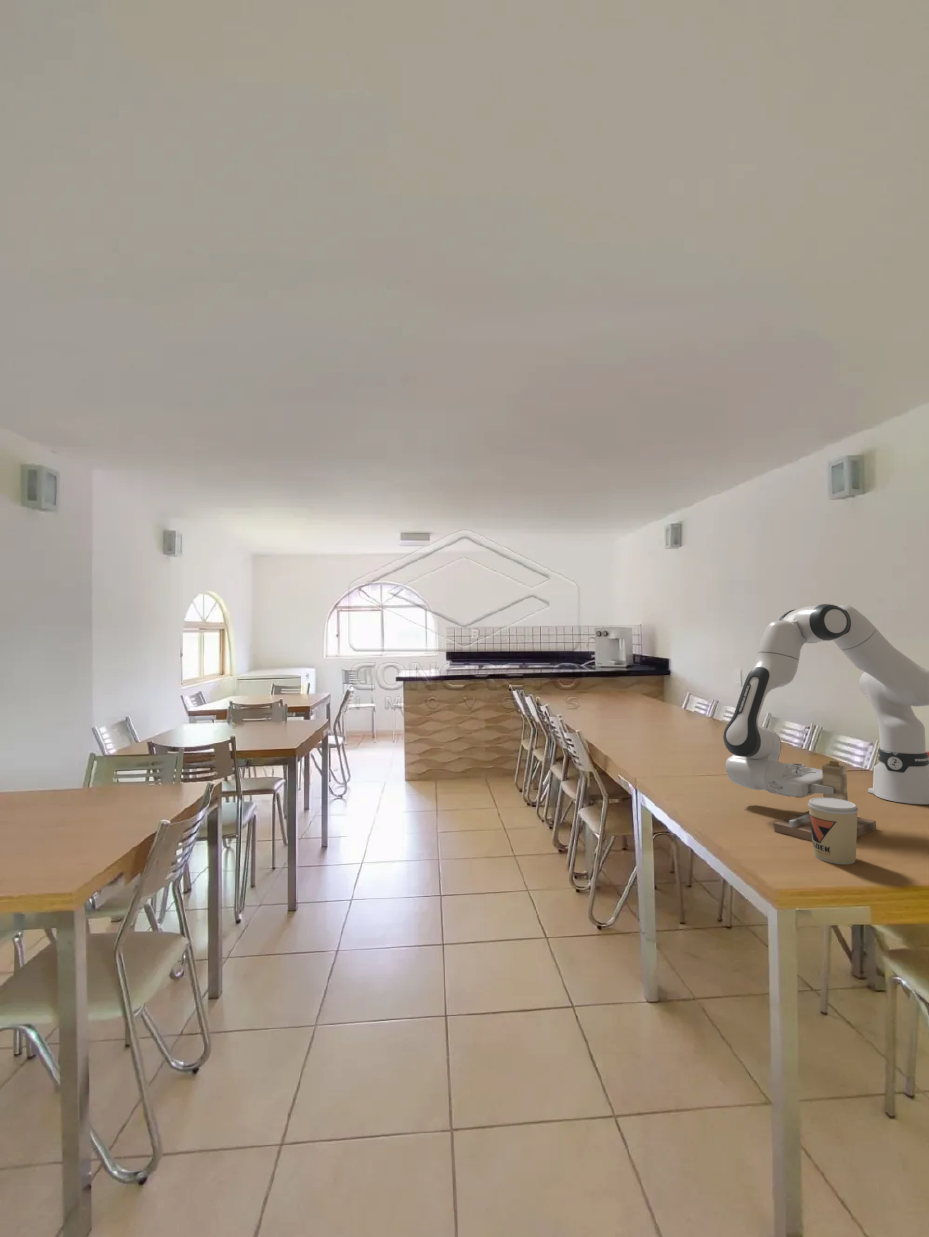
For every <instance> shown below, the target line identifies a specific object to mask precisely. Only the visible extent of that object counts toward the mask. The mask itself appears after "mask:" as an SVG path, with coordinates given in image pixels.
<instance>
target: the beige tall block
mask: <svg viewBox="0 0 929 1237" xmlns="http://www.w3.org/2000/svg"><path fill="white" fill-rule="evenodd" d="M839 763H840V762H839V761H837V760H829V763H827V764H822V765H821V768H822V769H821V770H822V774H823V786H832V787H835V794H832V795H830V794H822V795H823V796H822V798H835V799H841V800H846V801H849V800H848V799H849V798H848V777H847V776H848V775H847V774H848V773H847V765H842V764H839Z"/></svg>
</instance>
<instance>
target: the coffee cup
mask: <svg viewBox="0 0 929 1237" xmlns="http://www.w3.org/2000/svg"><path fill="white" fill-rule="evenodd" d="M807 806H808V811H809V813H810V823H811V832H812V841H811V842H812V847H813V848H812V849H813V855H814V857H815V858H817V859H819V860H820V861H823V862H826V863H831V864H834V865H835V864H836V865H851V864H854V863H855V862H856V859H857V840H858V839H857V838H858V837H857V817H858V813H859V809H858V808H859V807H857V804H855V803H854V802H851V801H850V800H848V801H846V800H841V799H835V798H823V797H813V798H810V799H809V801H808V802H807Z"/></svg>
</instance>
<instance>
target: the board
mask: <svg viewBox="0 0 929 1237" xmlns="http://www.w3.org/2000/svg"><path fill="white" fill-rule="evenodd" d="M875 830H877V821H876V820H872V819H868V818H866V817H865V818H864V817H859V816H857V838H859V837H861V836H863V835H866V834H868V833H870V832H873V831H875ZM773 832H776V833H780V834H783V835H788V836H791V837H795V838H798V839H802V840H807V841H810V842H813V841H812V832H811V823H810V813H809V810H808V811H805V812H802V813H799V814H796V815H794V816H791V817H788V818H785V819H782V820H779V821H777V822H773Z"/></svg>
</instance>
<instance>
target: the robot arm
mask: <svg viewBox="0 0 929 1237" xmlns="http://www.w3.org/2000/svg"><path fill="white" fill-rule="evenodd" d="M829 641H833V642H834V644H835V645H836V646H837V647H838V648H839V649H840V651H841V652H842V653H843V654H844V655H845V656H846V657H847V658H848V659H849V661H850V662H851V663H852V664H853V665H854V666H855V667H856V668H857V669H859V670H860V671H862V672H863V673H862V674H861V676H860V678H859V681H858V682H859V688H860V690H861V692H862V693H863V695H865V697H866V698H867V699H868V700H869V702H870V704H871V706H872V709H873V711H874V714H875V716H876V717H875V718H876V720H877V725H878V736H879V737H878V739H879V748H878V750H877V751H878V752H877V756H878V758H877V759H878V761H879V762H878V763H877V764H875V765H874V767H873V779H872V782H873V783H872V787H869V788H867V791H868V793H870V794H872V795H875V796H876V797H878V798H880V799H883V800H887V801H891V802H897V803H903V804H910V805H911V804H912V805H929V750H928V751H927V749H926V748H927V747H926V727H925V726H924V724H923V722H922V721H921V720H920V719H919V718H918V717H917V716H916V714H915V712H914V711H913V707H925V706H927V707H928V706H929V670H928V669H926V668H924V667H922V666H921V665H919V664H917V663H916V662H915V661H913V660H912V659H910V658H909V657H908V656H906V655H905V654H904V653H902V652H901V651H899V650H898V649H896V648H895V647H894V645H892V644H891V643H890V642H889V641H888V639H886V637H885V636H884V635H883V634H882V633H881V632H880V631H879V630H878V629H877V628H876V626H875V625H874V624H873V623H872V622H871V621H870V620H869V619H868V618H867V617H866V616H865V615H863V614H862V613H861V612H860V611H858V609H856V608H854V607H853V606H851V605H847V604H840V605H839V604H838V605H835V604H830V603H823V604H817V605H807V606H804V607H801V608H797V609H792V610H789V611H787V612H786V613H784V614H783V615H782V616H780V618H779V620H774V621H772V622H770V623H769V624H768V625H767V626H766V628H765V630H764V631H763V634H762V636H761V639H760V641H759V646H758V648H757V654H756V658H755V661H754V663H753V667H752V669H751V670H750V671H749V673H748V674H747V676H746V678H745V680H744V682H743V686H742V689H741V691H740V692H741V693H740V694H739V698H738V701H737V704H736V707H735V710H734V713H733V715H732V717H731V719H730V721H728V723H727V724H726V726H725V729H724V731H723V736H722V737H723V743H724V745H725V749H727V750H728V752H729V753H731V754H732V755H731V756H728V757H727V759H726V761H725V772H726V775H727V777H728V778H729V780H730V781H731V782H732V783H734V784H736V785H738V786H740V787H743V788H748V789H750V790H756V791H765V792H768V793H771V794H775V795H780V796H785V797H789V798H790V797H793V798H797V799H798V798H799V799H802V798H806V797H808V796H812V795H814V794H815V795H816V794H821V795H823V794H830V795H832V794H835V787H832V786H823V774H822V769H819V768H815V767H807V766H806V765H805V764H802V763H790V762H789V763H788V762H781V761H779V758H780V754H781V751H782V740H781V739H780V736H779V734H777V732H775V731H774V730H772V729H769V728H767V727H765V726H761V725H759V717H760V715H761V711H762V708H763V705H764V702H765V699H766V697H767V695H768V694H769V692H771V691H773V690H775V689H778V688H782V687H785V686H787V685H789V684H790V683H791V682H793V680H794V678H795V676H796V675H797V671H798V666H799V661H800V656H801V651H802V649H803V648H802V647H803V645H805V644H817V643H821V642H829Z"/></svg>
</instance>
